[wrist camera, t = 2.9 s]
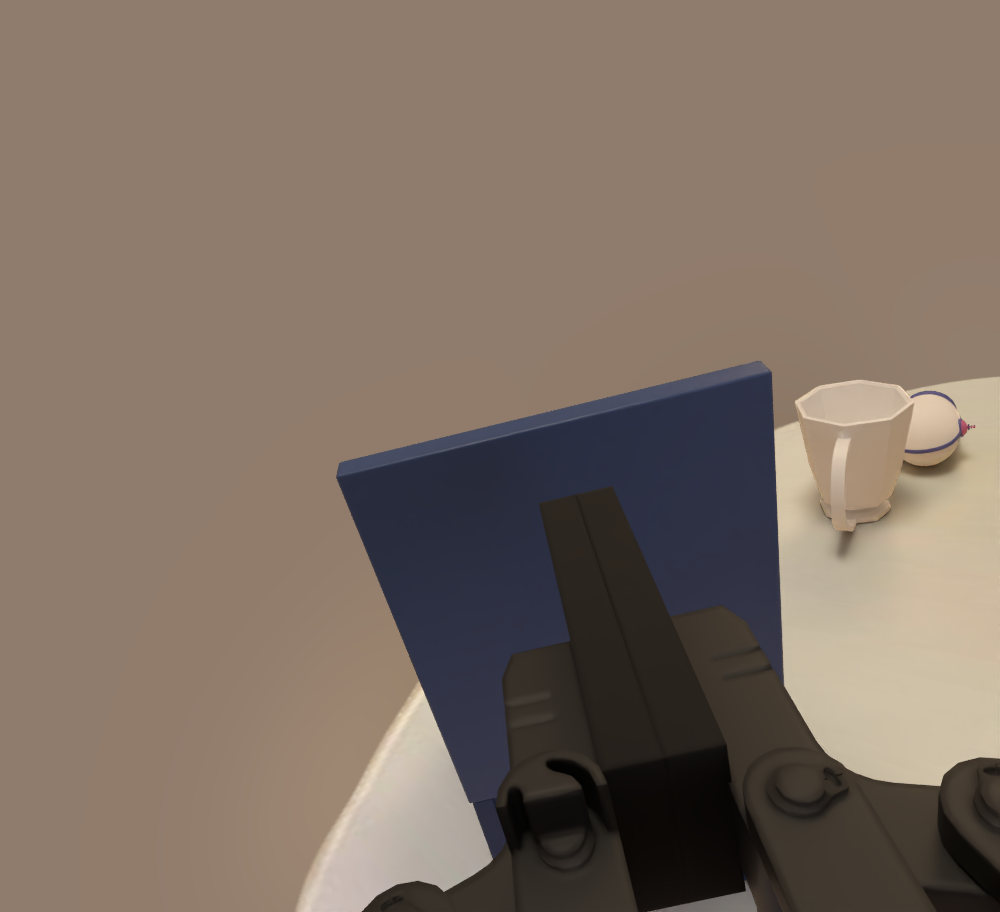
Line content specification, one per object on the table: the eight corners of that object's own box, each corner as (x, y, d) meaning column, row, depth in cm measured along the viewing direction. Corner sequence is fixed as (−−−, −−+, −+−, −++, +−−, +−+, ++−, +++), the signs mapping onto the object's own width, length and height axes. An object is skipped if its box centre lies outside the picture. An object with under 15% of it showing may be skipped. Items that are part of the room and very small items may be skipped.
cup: (917, 484, 51) (919, 378, 48) (903, 568, 44) (904, 450, 40) (810, 477, 55) (804, 379, 51) (781, 554, 48) (772, 445, 44)
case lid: (338, 461, 20) (335, 477, 19) (760, 358, 19) (772, 371, 19) (468, 784, 27) (469, 804, 26) (777, 716, 27) (786, 734, 26)
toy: (1082, 428, 52) (1089, 487, 46) (894, 442, 59) (880, 495, 54) (1076, 357, 50) (1082, 409, 44) (882, 380, 57) (866, 428, 52)
